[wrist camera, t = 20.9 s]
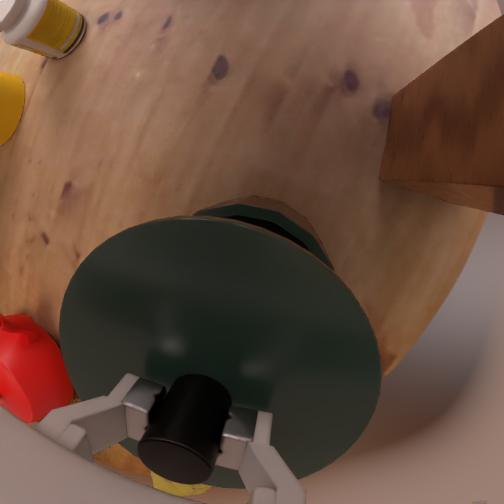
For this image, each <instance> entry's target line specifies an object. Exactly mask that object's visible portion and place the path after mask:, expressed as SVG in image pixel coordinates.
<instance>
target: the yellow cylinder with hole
mask: <svg viewBox="0 0 504 504" xmlns="http://www.w3.org/2000/svg"><path fill="white" fill-rule="evenodd" d="M24 101H25V87H24V83H23V81H22V79H21V78H20V77H19V76H16V75H12V74H8V73H4V72H0V145H3V144H4V143H6V142H7V141H8V140H9V139H10V137H11V136H12V135H13V133H14V131H15V130H16V128H17V125H18V123H19V121H20V118H21V115H22V111H23V107H24Z"/></svg>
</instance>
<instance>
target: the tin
mask: <svg viewBox="0 0 504 504" xmlns="http://www.w3.org/2000/svg"><path fill="white" fill-rule="evenodd" d="M192 216H213V217H220V218H227V219H234V220H237V221H241V222H245V223H248V224H252V225H255V226H259V227H262V228H264V229H267V230H269V231H271V232H273V233H276V234H278V235H280V236H283V237H285V238H287V239H289V240H291V241H292V242H294V243H296V244H297V245H299V246H301V247H302V248H304V249H306V250H307V251H309V252H310V253H312V254H313V255H315V256H316V257H317V258H318V259H319V260H321V261H322V262H323V263H324V264H326V265H327V266H328V267H329V268H330V269H332V270H333V271H334V272H335V270H334V268H333V265H332V263H331V261H330V259H329V257H328V255H327V253H326V251H325V249H324V246H323V244H322V242H321V241H320V239H319V237H318V236H317V234H316V233H315V231H314V229H313V228H312V226H311V225H310V223H309V221H308V220H307V219H306V218H305V217H304V216H302V215H301V214H300V213H298V212H297V211H296V210H294V209H293V208H291V207H290V206H288V205H287V204H285V203H284V202H281V201H277V200H273V199H269V198H263V197H258V196H249V197H244V198H239V199H234V200H229V201H225V202H222V203H219V204H216V205H213V206H211V207H208V208H205V209H202V210H199V211H197V212H196V213H195V214H193V215H192Z"/></svg>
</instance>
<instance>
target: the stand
mask: <svg viewBox="0 0 504 504" xmlns="http://www.w3.org/2000/svg"><path fill="white" fill-rule="evenodd" d="M379 180H382V181H385V182H388V183H392V184H395V185H398V186H401V187H405V188H408V189H411V190H414V191H417V192H420V193H423V194H426V195H429V196H432V197H435V198H438V199H441V200H443V201H446V202H449V203H452V204H456V205H461V206H466V207H471V208H475V209H480V210H484V211H488V212H493V213H497V214H501V215H504V14H503V15H502V16H500V17H499V18H497V19H496V20H494V21H493V22H492V23H490V24H489V25H487V26H486V27H485V28H483V29H482V30H480V31H479V32H478V33H476V34H475V35H473V36H472V37H471V38H469V39H468V40H466V41H465V42H464V43H462V44H461V45H460V46H458V47H457V48H456V49H454V50H453V51H451V52H450V53H449V54H447V55H446V56H445V57H443V58H442V59H441V60H439V61H438V62H437V63H435V64H434V65H433V66H431V67H430V68H429V69H428V70H426V71H425V72H424V73H422V74H421V75H420V76H418V77H417V78H416V79H414V80H413V81H412V82H411V83H409V84H408V85H407V86H405V87H404V88H403V89H401V90H400V91H399V92H398V93H396V94H395V95H394V96H393V100H392V108H391V115H390V121H389V128H388V134H387V140H386V146H385V151H384V157H383V162H382V167H381V172H380V177H379Z"/></svg>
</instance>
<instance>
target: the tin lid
mask: <svg viewBox="0 0 504 504" xmlns="http://www.w3.org/2000/svg"><path fill="white" fill-rule="evenodd" d="M59 334H60V346H61V351H62V356H63V361H64V364H65V367H66V370H67V373H68V376H69V378H70V380H71V383H72V385H73V387H74V389H75V391H76V393H77V395H78V396H79V398H80V400H81V401H82V402H83V401H86V400H90V399H93V398H97V397H100V396H106V397H107V396H108V395H109V394H110V393H111V392H112V390H113V389H114V388H115V387H116V385H117V384H118V383H119V382H120V381H121V379H122V378H123V377H124V376H125V374H127V373H131V374H133V375H135V376H138V377H141V378H144V379H147V380H149V381H152V382H155V383H158V384H160V385H163V386H165V387H166V395H165V397H164V399H163V401H162V403H161V404H160V406H159V408H158V410H157V411H156V413H155V415H154V417H153V418H152V420H151V422H150V424H149V425H148V427H147V429H146V431H145V432H144V434H143V436H142V438H141V439H140V441H138V440H135V439H132V438H129V437H127V438H126V439H124V440H122V441H120V442H118V443H119V444H120V445H121V446H122V447H124V448H125V449H126V450H128V451H129V452H130V453H132V454H133V455H135V456H136V457H138V458H139V459H140V460H141V461H142V463H143V464H144V465H145V466H146V467H147V468H148V469H150V470H151V471H152V472H154V473H155V474H157V475H158V476H160V477H162V478H164V479H167V480H169V481H172V482H176V483H180V484H187V485H196V484H204V485H209V486H216V487H223V488H239V489H243V488H246V487H245V485H244V483H243V481H242V478H241V476H240V474H239V472H238V470H234V469H230V468H226V467H222V466H218V465H215V464H216V460H217V457H218V453H219V450H220V447H219V445H220V441H221V437H222V433H223V430H224V426H225V422H226V420H227V416H228V412H229V408H230V405H234V406H239V407H243V408H248V409H253V410H259V411H264V412H269V413H272V414H273V417H272V427H271V436H270V446H274V448H275V449H276V450H277V452H278V453H279V455H280V456H281V457H282V459H283V460H284V462H285V463H286V464H287V466H288V467H289V469H290V470H291V471H292V473H293V474H294V475H295V477H296V478H297V480H298V479H301V478H304V477H306V476H309V475H311V474H313V473H315V472H317V471H319V470H321V469H323V468H324V467H326V466H328V465H329V464H331V463H333V462H334V461H335V460H337V459H338V458H339V457H340V456H342V455H343V454H344V453H345V452H347V450H348V449H349V448H350V447H351V446H352V445H353V444H354V443H355V442H356V441H357V440H358V438H359V437H360V436H361V434H362V433H363V432H364V430H365V429H366V427H367V426H368V424H369V422H370V419H371V418H372V416H373V413H374V411H375V408H376V405H377V401H378V398H379V395H380V388H381V380H382V368H381V355H380V351H379V347H378V343H377V339H376V336H375V333H374V331H373V329H372V326H371V324H370V322H369V320H368V317H367V315H366V313H365V311H364V309H363V308H362V306H361V305H360V303H359V302H358V300H357V299H356V297H355V296H354V294H353V293H352V291H351V290H350V289H349V288H348V286H347V285H346V284H345V283H344V282H343V281H342V280H341V279H340V278H339V277H338V276H337V274H336V273H335V272H334V271H333V270H332V269H330V268H329V267H328V266H327V265H326V264H324V263H323V262H322V261H321V260H319V259H318V258H317V257H316V256H315V255H313V254H312V253H310V252H309V251H307V250H306V249H304V248H302V247H301V246H299V245H297V244H296V243H294V242H292V241H291V240H289V239H287V238H285V237H283V236H280V235H278V234H276V233H273V232H271V231H269V230H267V229H264V228H262V227H259V226H255V225H252V224H248V223H245V222H241V221H237V220H234V219H227V218H220V217H213V216H175V217H168V218H162V219H156V220H152V221H149V222H146V223H143V224H140V225H137V226H134V227H131V228H128V229H126V230H124V231H122V232H120V233H118V234H116V235H114V236H112V237H110V238H109V239H107V240H106V241H105V242H103V243H102V244H101V245H99V246H98V247H97V248H95V249H94V250H93V251H92V252H91V253H90V254H89V255H88V256H87V257H86V259H85V260H84V261H83V262H82V263H81V264H80V266H79V267H78V269H77V270H76V272H75V274H74V275H73V277H72V278H71V280H70V283H69V285H68V287H67V290H66V292H65V295H64V298H63V302H62V307H61V311H60V323H59Z"/></svg>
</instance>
